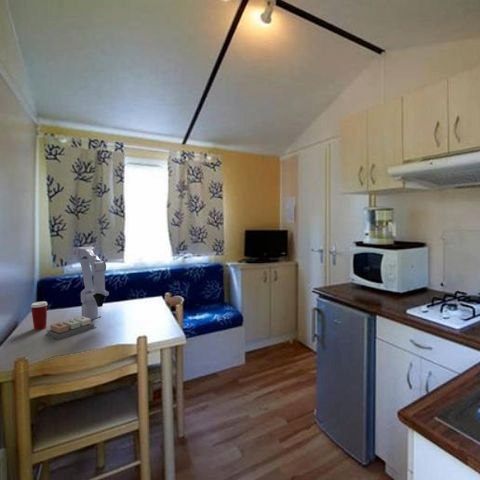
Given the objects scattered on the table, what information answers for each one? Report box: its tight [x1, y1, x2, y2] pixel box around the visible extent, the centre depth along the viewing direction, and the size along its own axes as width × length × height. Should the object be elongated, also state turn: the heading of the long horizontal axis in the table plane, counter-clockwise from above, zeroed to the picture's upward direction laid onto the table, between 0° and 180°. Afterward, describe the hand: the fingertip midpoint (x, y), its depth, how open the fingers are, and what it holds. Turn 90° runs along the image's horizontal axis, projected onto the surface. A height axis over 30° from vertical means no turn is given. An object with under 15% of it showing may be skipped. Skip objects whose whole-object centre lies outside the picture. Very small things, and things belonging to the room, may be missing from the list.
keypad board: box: [44, 322, 97, 341], centre depth 154 cm, size 13×20×2 cm, turn 148°
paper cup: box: [30, 301, 48, 331], centre depth 158 cm, size 8×8×14 cm
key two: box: [62, 319, 80, 329], centre depth 153 cm, size 9×4×3 cm, turn 58°
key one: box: [73, 315, 92, 326], centre depth 159 cm, size 9×4×3 cm, turn 58°
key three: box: [49, 322, 69, 333], centre depth 148 cm, size 9×4×3 cm, turn 58°
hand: (100, 306), depth 163 cm, fingers closed
